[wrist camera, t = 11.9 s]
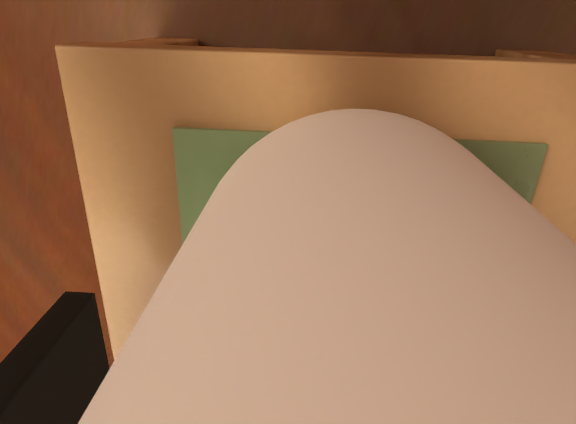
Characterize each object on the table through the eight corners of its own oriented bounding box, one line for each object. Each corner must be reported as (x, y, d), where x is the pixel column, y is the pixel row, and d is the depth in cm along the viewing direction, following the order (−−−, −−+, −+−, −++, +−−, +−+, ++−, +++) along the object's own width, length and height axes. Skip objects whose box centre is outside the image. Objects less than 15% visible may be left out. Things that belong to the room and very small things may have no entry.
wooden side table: (180, 305, 24) (123, 427, 17) (153, 34, 18) (48, 45, 11) (470, 323, 23) (538, 457, 16) (543, 47, 17) (702, 68, 10)
